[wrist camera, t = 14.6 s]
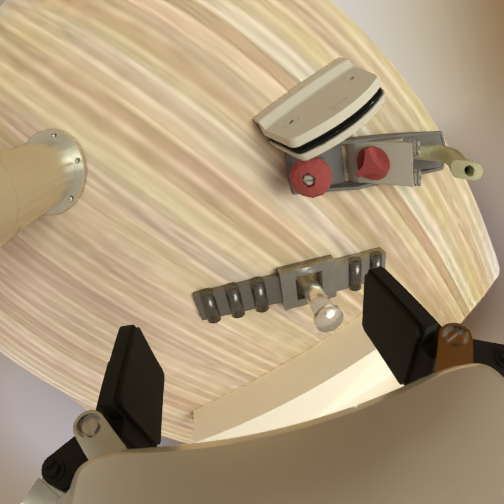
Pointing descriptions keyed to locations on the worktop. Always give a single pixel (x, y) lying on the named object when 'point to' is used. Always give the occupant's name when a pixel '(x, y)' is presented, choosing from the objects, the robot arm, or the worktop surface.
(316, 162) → the hand plane
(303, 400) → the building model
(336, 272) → the knobbed grey strip
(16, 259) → the worktop surface
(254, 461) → the robot arm
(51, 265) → the worktop surface
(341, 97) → the beige arched grooved block
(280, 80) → the worktop surface
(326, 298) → the pin
